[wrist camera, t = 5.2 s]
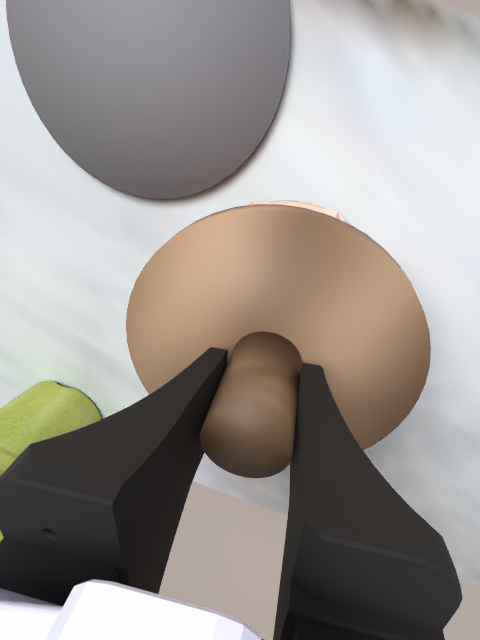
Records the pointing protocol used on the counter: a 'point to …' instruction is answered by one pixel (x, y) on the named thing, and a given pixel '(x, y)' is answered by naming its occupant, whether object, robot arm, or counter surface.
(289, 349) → the lid
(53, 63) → the mat
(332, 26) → the counter surface
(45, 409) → the plant pot
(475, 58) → the counter surface
